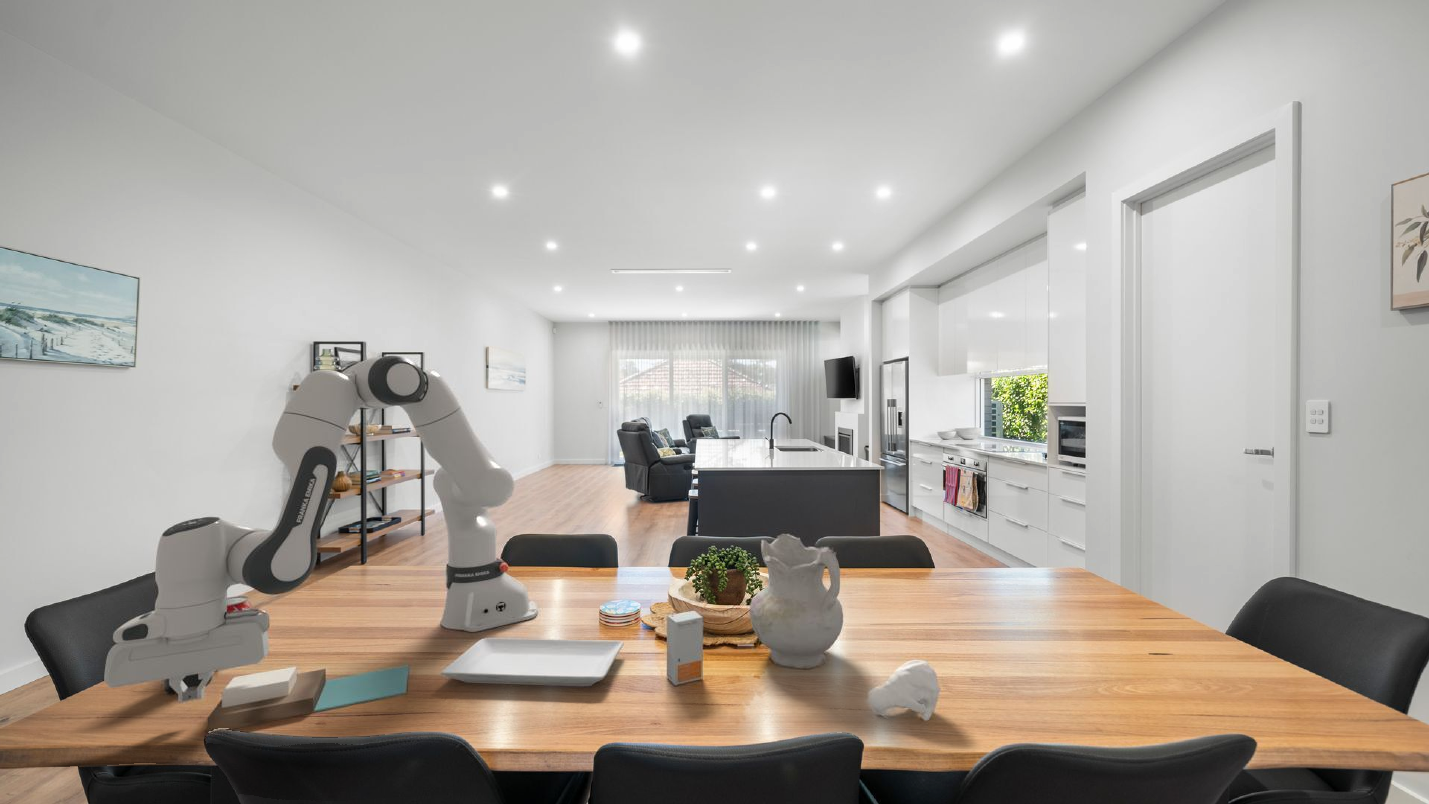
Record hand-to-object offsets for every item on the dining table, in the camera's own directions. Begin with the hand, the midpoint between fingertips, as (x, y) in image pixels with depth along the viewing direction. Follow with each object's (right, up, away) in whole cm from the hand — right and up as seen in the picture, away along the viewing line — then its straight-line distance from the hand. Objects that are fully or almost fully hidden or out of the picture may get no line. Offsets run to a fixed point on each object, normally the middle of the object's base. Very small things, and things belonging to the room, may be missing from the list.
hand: (191, 699), depth 93 cm
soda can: (-14, -4, +24) cm, 28 cm away
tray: (+53, -4, +17) cm, 56 cm away
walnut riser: (+10, -4, +5) cm, 11 cm away
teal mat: (+22, -4, +11) cm, 25 cm away
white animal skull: (+120, -3, +1) cm, 120 cm away
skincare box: (+82, -4, +14) cm, 83 cm away
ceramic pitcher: (+106, -4, +22) cm, 108 cm away
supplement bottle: (-12, -4, +12) cm, 17 cm away
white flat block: (+8, -1, +4) cm, 9 cm away
